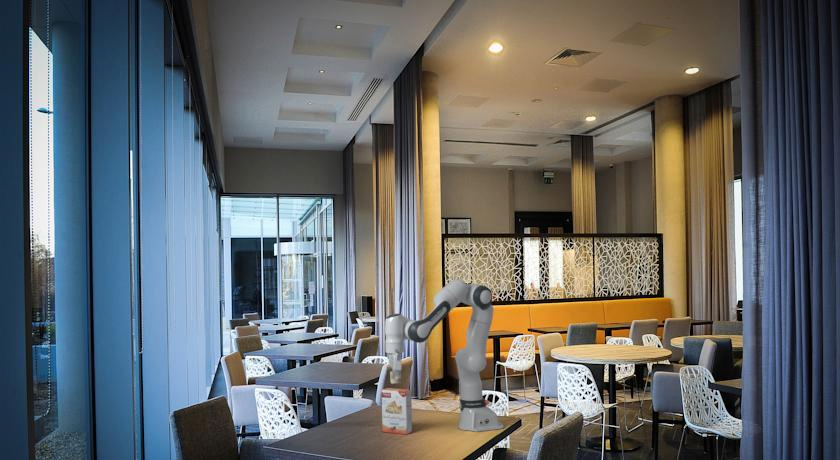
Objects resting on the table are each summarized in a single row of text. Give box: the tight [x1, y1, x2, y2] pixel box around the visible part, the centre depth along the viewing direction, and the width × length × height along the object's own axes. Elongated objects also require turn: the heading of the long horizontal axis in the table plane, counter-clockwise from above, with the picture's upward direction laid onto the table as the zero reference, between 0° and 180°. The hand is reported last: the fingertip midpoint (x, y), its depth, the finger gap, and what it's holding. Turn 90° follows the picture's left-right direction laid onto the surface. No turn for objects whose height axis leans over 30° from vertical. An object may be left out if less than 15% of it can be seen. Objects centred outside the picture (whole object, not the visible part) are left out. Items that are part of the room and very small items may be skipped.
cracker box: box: [381, 387, 413, 435], centre depth 310 cm, size 14×6×21 cm, turn 62°
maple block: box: [389, 370, 402, 385], centre depth 295 cm, size 4×4×5 cm
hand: (395, 378), depth 295 cm, fingers closed on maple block, 4 cm apart
